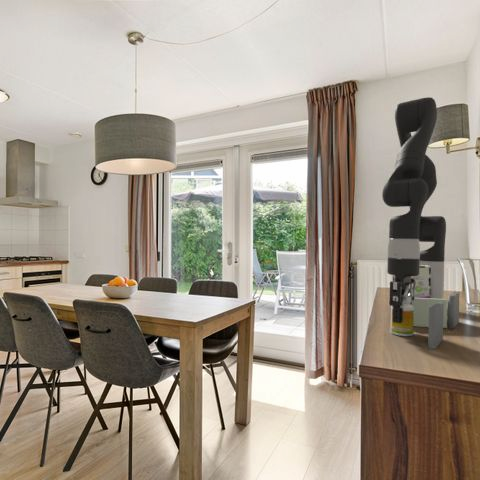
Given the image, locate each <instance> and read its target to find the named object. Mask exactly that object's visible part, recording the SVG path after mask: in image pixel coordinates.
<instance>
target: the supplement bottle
mask: <svg viewBox="0 0 480 480" xmlns="http://www.w3.org/2000/svg"><path fill="white" fill-rule="evenodd" d="M396 301H398V300H396ZM410 303H411V297H410V296H407V300H406V301H404V306H403V322H402V323H394V322H393V307H392V306H390V333H391V334H393V335H394V336H395V335H396V336H400V337H412V336H413V335H414V329H415V328H414V327H415V326H414V307H413V306H412V305H410Z"/></svg>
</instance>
